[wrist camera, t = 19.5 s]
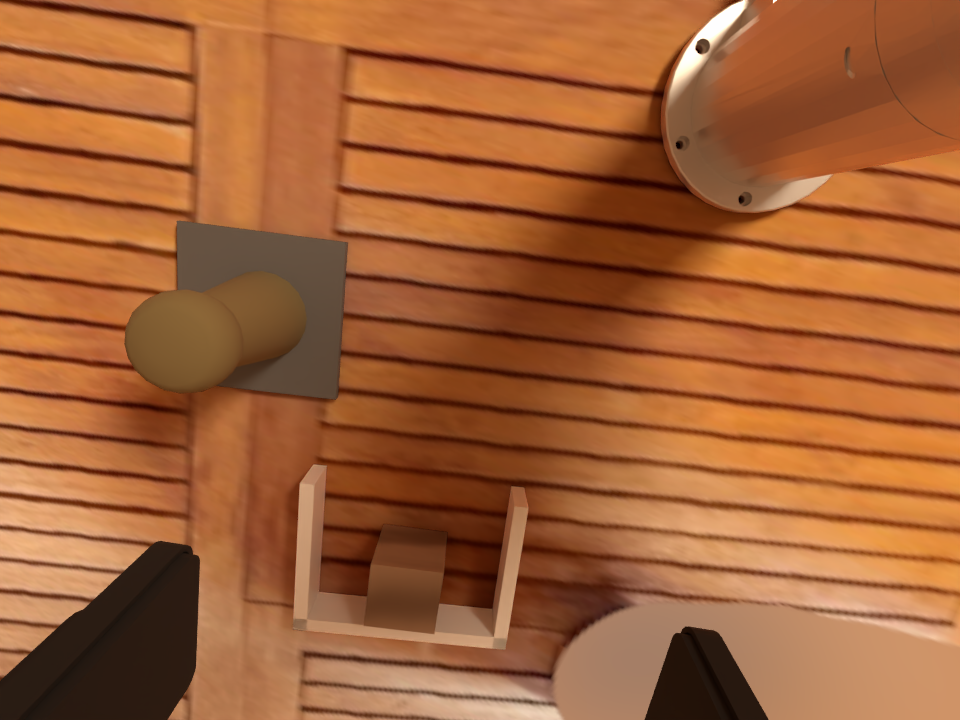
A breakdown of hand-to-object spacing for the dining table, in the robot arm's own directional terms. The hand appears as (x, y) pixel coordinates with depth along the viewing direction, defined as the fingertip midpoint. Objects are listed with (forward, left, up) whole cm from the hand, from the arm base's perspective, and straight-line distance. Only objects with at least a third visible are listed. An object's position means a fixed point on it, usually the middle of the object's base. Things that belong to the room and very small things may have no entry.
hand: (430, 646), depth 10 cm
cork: (-1, -14, -26) cm, 30 cm away
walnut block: (+17, -2, -27) cm, 32 cm away
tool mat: (-1, -14, -26) cm, 30 cm away
